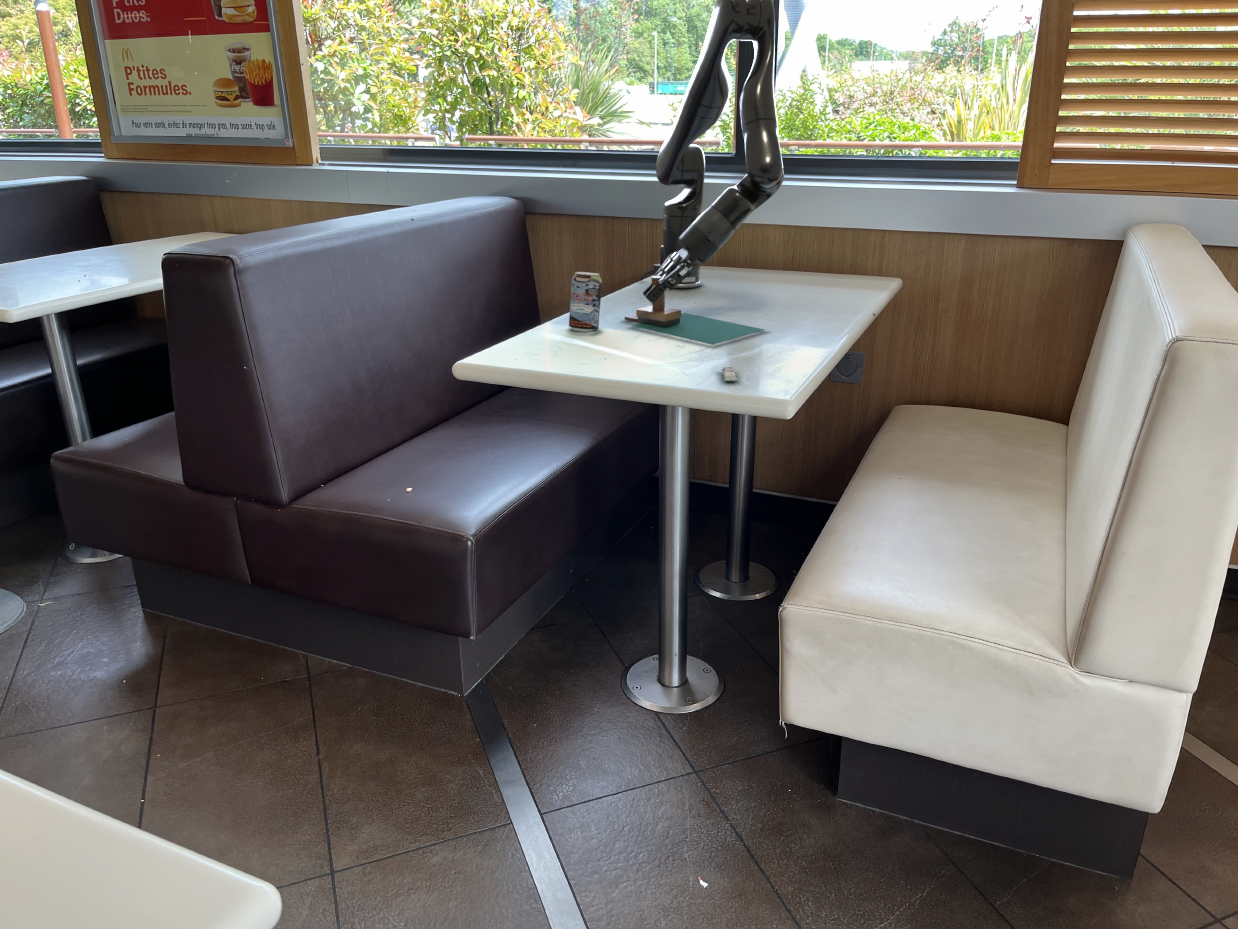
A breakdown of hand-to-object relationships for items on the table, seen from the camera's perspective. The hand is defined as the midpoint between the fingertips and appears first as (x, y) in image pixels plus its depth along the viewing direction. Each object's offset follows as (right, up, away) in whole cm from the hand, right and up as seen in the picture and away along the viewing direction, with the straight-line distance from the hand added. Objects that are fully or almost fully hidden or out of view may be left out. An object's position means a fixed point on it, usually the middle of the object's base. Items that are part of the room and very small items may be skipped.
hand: (647, 298), depth 182 cm
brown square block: (-2, -4, +6) cm, 8 cm away
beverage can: (-13, -7, -1) cm, 14 cm away
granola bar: (+13, -20, -32) cm, 40 cm away
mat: (+10, -7, -1) cm, 12 cm away
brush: (+2, -5, +2) cm, 6 cm away
